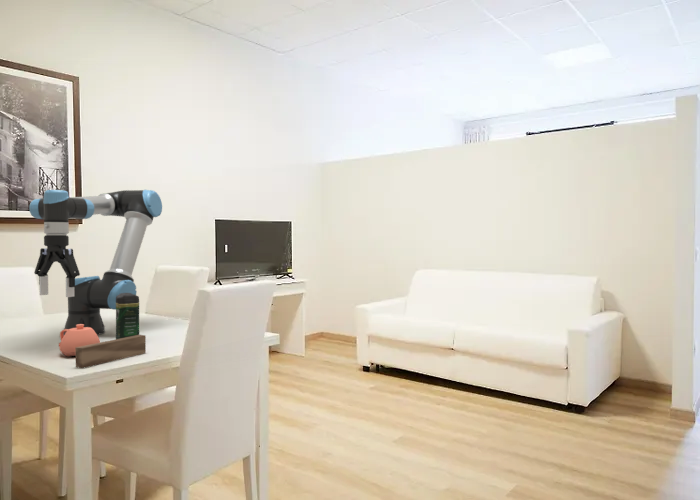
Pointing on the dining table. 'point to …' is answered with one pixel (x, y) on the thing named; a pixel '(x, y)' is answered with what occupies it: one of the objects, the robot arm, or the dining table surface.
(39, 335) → the dining table surface
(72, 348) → the sugar bowl
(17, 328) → the dining table surface
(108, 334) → the dining table surface
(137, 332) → the coffee jar
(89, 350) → the board
